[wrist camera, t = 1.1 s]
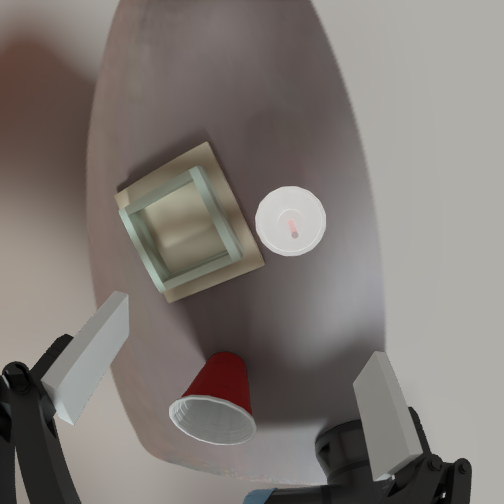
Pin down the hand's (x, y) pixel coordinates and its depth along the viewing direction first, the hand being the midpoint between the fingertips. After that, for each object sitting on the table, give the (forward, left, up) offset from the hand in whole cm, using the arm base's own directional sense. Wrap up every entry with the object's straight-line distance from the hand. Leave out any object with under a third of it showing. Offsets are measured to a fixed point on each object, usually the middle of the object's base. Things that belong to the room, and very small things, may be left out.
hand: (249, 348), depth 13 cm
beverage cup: (+3, -4, -21) cm, 22 cm away
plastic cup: (-15, +13, -21) cm, 29 cm away
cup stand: (+6, +8, -21) cm, 23 cm away
